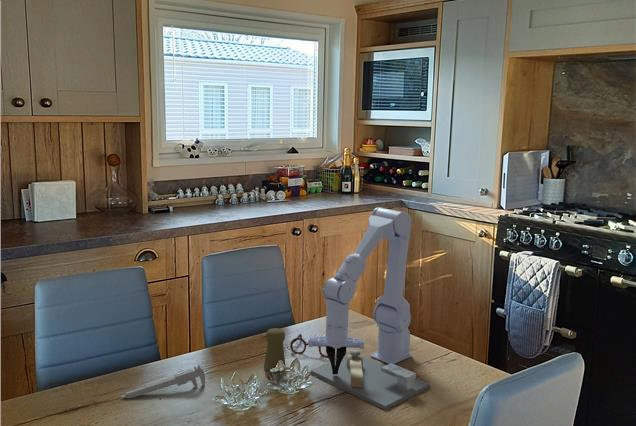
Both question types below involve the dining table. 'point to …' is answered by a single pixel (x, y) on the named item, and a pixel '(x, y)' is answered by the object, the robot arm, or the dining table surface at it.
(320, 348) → the glasses
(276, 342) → the cork
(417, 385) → the charcoal board
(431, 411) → the dining table surface
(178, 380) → the caliper
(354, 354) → the wooden link
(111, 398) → the dining table surface
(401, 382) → the block
